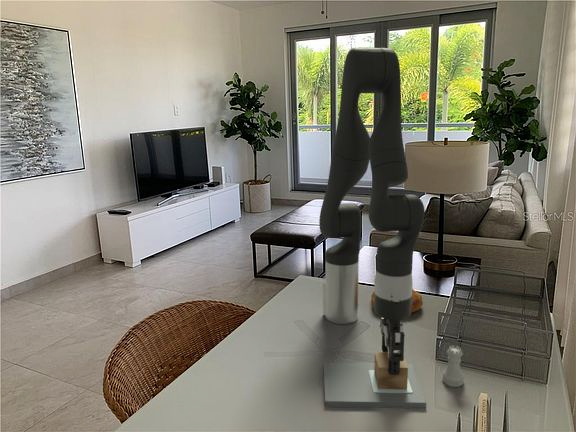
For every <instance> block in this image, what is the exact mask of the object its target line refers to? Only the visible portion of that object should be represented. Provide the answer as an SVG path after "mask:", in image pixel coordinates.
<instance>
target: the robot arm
mask: <svg viewBox="0 0 576 432" xmlns="http://www.w3.org/2000/svg"><path fill="white" fill-rule="evenodd" d="M400 68H401V66H400V60H399V57H398V54H397V53H396V50H394V49H391V48H388V47H387V48H386V47H353V48H351V49H349V51H348V52H347V54H346V56H345V59H344V64H343V69H342V70H343V71H342V79H341V81H342V82H341V90H340V91H341V93H340V103H339V111H338V120H337V125H336V130H335V136H334V141H333V146H332V151H331V158H330V166H329V171H328V179H327V185H326V190H325V193H324V198H323V201H322V204H321V209H320V213H319V219H318V220H319V222H318V223H319V230H320V233H321V236H322V237H324V238H326V239H338V238H342V240H340V241H339V242H338V243H336V244H335V245H332V246H330V247H329V248H327V249H326V250H325V253H324V254H325V256H324V257H325V258H324V259H325V267H324V268H325V270H324V271H325V283H323V285H322V289H323V291H322V295H323V297H322V304H323V305H322V307H323V308H322V314H323V316H324V317H325V319H326V320H327V321H328V322H330V323H333V324H337V325H348V324H353V323H355V322H357V320H358V318H359V316H358V315H359V314H358V313H359V268H360V267H359V264H360V263H359V261H360V260H359V259H360V257H359V256H360V251H361V237H362V223H363V222H362V212H361V209H360V206H359V205H358V204H357V203H355V202H354V203H353V202H348V203H347V202H346V203H343V200H344V198H345V197H346V196H347V195H348V194H349V192H350V191H351V190H352V189H353V188H354V187H356V185H357V184H358V183H359V182H360V181H361V180H362V179H363V177H364V176H365V174H366V172H367V171H368V167H369V165H370V171H371V195H370V200H369V207H368V220H369V223H370V225H371V226H372V228H373V229H374V230H376V231H377V232H381V233H385V232H386V233H388V232H397V233H396V235H395V236H393V237H391V238H389V239H386V240H384V241H381V242H380V243H379V244H378V245H377V249H376V267H375V268H376V269H375V270H376V271H375V276H374V287H373V289H374V291H373V292H374V308H373V311H374V313H375V315H377V317H380V322H379V323H380V324H379V327H380V328H379V329H380V334H381V351H382V352H388V373H389V374H390V375H398V374H399V372H400V361H403V359H404V358H405V354H404V353H405V349H404V348H405V332H404V325H403V323H402V322H401V321H403V320H404V319H407V318H409V317H410V316H411V314H412V312H411V305H412V289H413V286H414V284H413V259H414V257H413V256H414V251H415V247H416V245H417V241H418V239H419V235H420V232H421V230H422V227H423V224H424V221H425V216H426V215H425V214H426V211H425V205H424V202H423V201H422V199H421V198H420V197H419V196H418V195H416V194H394V195H389V193H388V190H389V189H390V188H392V187H397V186H399V185H402V184H404V183H405V182H407V180H408V177H409V169H408V165H407V159H406V152H405V148H404V147H405V146H404V143H403V142H404V140H403V134H402V133H403V130H402V90H401V88H402V86H401V85H402V84H401V69H400ZM361 94H380V95H381V96H382V109H381V113H380V115H379V118H378V120H377V123H376V124H375V126H374V128H373V130H372V132H371V135H370V134H369V132H368V129H367V127H366V126H365V124H364V121H363V119H362V117H361V115H360V111H359V101H360V100H359V98H360V95H361ZM394 351H397V352H398V353H394Z"/></svg>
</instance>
